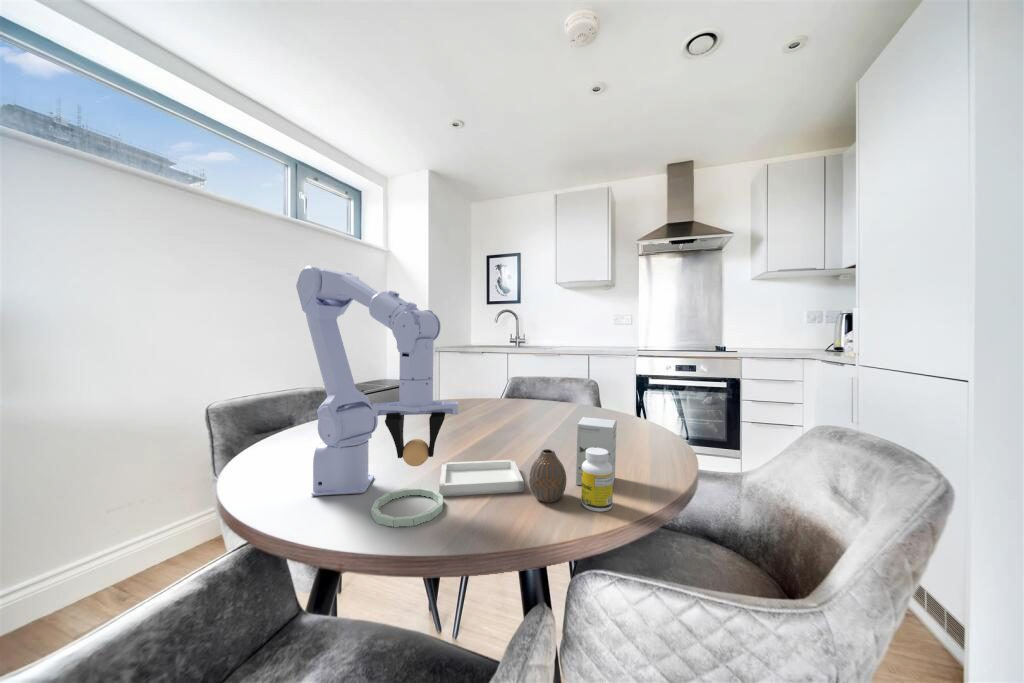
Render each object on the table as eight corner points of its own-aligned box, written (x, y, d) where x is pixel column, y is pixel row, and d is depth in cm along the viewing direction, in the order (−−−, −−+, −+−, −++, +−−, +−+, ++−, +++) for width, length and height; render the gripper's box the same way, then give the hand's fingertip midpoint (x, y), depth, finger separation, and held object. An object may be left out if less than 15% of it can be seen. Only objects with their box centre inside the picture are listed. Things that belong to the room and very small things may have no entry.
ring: (364, 529, 54) (364, 521, 54) (380, 495, 66) (380, 489, 66) (441, 524, 56) (441, 516, 56) (444, 492, 67) (444, 486, 67)
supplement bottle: (577, 498, 65) (578, 446, 65) (606, 497, 66) (606, 445, 66) (586, 513, 60) (586, 456, 60) (617, 512, 60) (617, 455, 60)
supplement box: (574, 485, 71) (575, 423, 71) (581, 472, 78) (582, 415, 78) (612, 491, 68) (613, 427, 68) (616, 477, 75) (617, 419, 75)
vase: (565, 490, 69) (565, 446, 69) (567, 507, 62) (567, 458, 62) (529, 489, 69) (530, 444, 69) (528, 505, 62) (528, 456, 62)
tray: (439, 496, 65) (439, 485, 65) (442, 472, 77) (442, 462, 77) (523, 491, 68) (523, 481, 68) (513, 468, 80) (513, 459, 80)
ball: (400, 471, 59) (400, 443, 59) (404, 461, 64) (404, 436, 64) (428, 469, 60) (428, 442, 60) (430, 460, 64) (430, 435, 64)
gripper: (367, 381, 56) (366, 465, 57) (458, 380, 59) (457, 461, 59) (377, 376, 63) (377, 451, 64) (458, 376, 66) (457, 448, 66)
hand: (416, 455), depth 62 cm, fingers closed on ball, 5 cm apart
